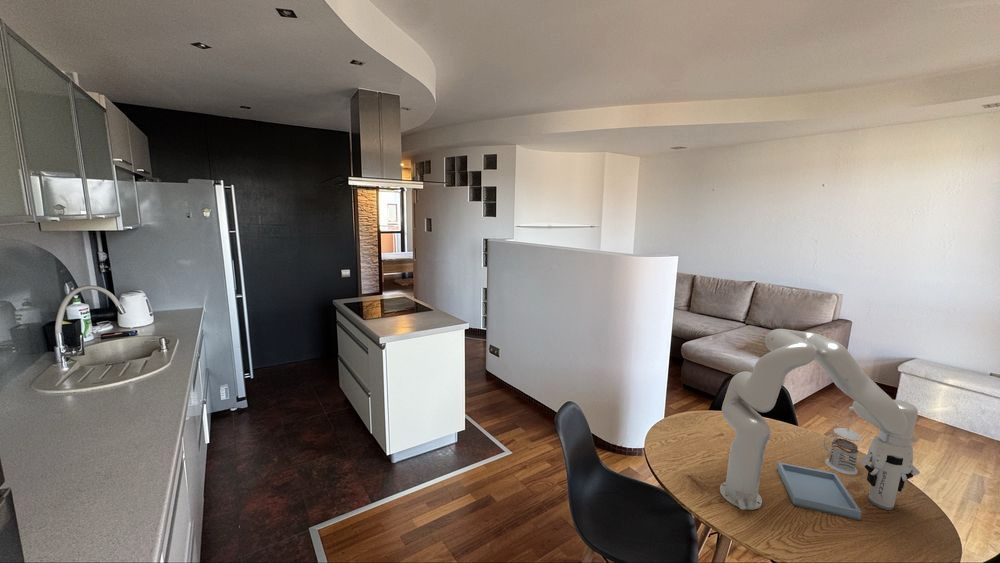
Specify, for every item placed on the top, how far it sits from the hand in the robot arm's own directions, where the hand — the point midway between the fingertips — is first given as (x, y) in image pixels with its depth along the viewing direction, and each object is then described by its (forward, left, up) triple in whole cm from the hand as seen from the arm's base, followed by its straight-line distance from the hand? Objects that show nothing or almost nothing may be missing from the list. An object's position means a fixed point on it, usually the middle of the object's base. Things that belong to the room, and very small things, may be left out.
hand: (884, 485), depth 134 cm
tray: (-2, +19, -7) cm, 20 cm away
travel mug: (0, 0, -7) cm, 7 cm away
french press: (+19, +5, -7) cm, 21 cm away
